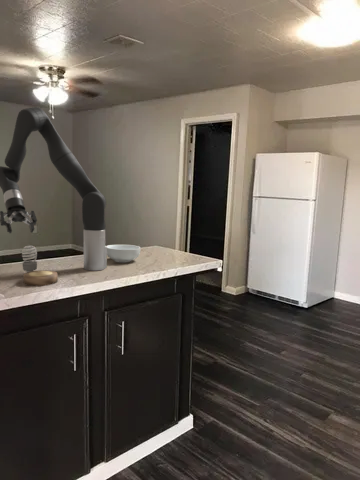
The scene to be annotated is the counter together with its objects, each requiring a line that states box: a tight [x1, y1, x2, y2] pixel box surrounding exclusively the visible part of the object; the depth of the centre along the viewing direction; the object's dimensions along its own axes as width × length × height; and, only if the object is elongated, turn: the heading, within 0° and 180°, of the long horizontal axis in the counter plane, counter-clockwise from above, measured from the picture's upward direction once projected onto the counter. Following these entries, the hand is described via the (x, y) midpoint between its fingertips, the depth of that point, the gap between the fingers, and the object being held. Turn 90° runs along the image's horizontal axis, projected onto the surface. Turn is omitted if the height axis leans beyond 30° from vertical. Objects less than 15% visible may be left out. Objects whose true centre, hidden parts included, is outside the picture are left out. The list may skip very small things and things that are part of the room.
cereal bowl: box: [105, 244, 141, 263], centre depth 190 cm, size 17×17×7 cm
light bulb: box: [21, 245, 38, 273], centre depth 155 cm, size 6×6×12 cm
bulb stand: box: [22, 269, 58, 287], centre depth 147 cm, size 12×12×3 cm
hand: (21, 231), depth 163 cm, fingers open, 8 cm apart
